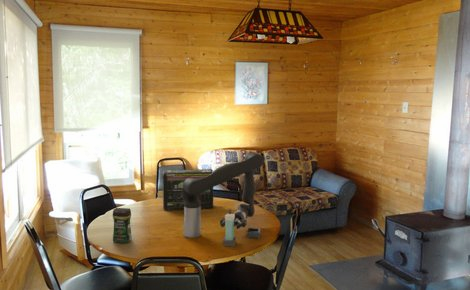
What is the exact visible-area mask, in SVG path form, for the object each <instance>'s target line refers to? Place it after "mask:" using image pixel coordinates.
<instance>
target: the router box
mask: <svg viewBox="0 0 470 290" xmlns="http://www.w3.org/2000/svg"><path fill="white" fill-rule="evenodd" d="M213 171H214V170H213V169H209V168H208V169H207V168H206V169H205V168H204V169H166V170H165V169H163V170H162V207H163V208H162V209H163V211H179V210H181V211H184V201H183V183H184V181H185V180H186V179H188V178H194V179H196V180H198V179H201V178H204V177H207V176H208V175H210V174H211V173H212V172H213ZM198 197H199V200H200V202H201V210H209V209H210V210H211V209H214V187H212V188H210V189H208V190H206V191H205V192H203V193H201V194H199V195H198Z"/></svg>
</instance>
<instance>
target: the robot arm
mask: <svg viewBox="0 0 470 290" xmlns="http://www.w3.org/2000/svg"><path fill="white" fill-rule="evenodd" d="M264 164H265V158H264V156H263V155H261V154H260V153H257V152H253V151H249V152H247V153H246V155H245V156H244V160H242V161H237V162H232V163H228V164H227V163H226V164H224V165H221V166H220V167H217V168H215V169H214V170H213V172H212V173H211V174H210V175H208V176H207V177H204V178H201V179H198V180H196V179H194V178H188V179H186V180H185V181H184V183H183V201H184V210H183V211H184V212H183V213H184V217H183V218H184V219H183V221H182V222H183V229H182V230H183V233H182V234H183V237H186V238H190V239H192V238H193V239H195V238H196V239H197V238H199V237H201V226H202V225H201V223H202V222H201V219H202V218H201V216H202V215H201V210H202V209H201V202H200V200H199V197H198V195H199V194H201V193H203V192H205V191H206V190H208V189H210V188H212V187H213V188H214V187H216V186H219V185H222V184H223V183H226V182H228V181H231V180H232V179H234V178H237V177H240V176H241V175H243V174H244V178H243V179H244V181H243V189H242V194H241V195H242V196H241V199H242V200H243V201H244V202H247V204H245V203H240V204H238V205H237V206H238V207H237V210H236V211H234V212H233V213H232V214H235V219H234V227H236V228H235V229H236V230H238V229H240V228H243V229H244V228H246V226H247V218H252V217H253V216H254V215H255V204H254V203H255V202H254V199H255V192H256V184H255V177H254V171H255V170H257V169H260V168H261V167H262V166H264ZM219 221H220V222H219V223H220V224H219V225H220V227H221V228H224V227H226V220H225V217H223V218H221V219H220V220H219Z"/></svg>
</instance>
